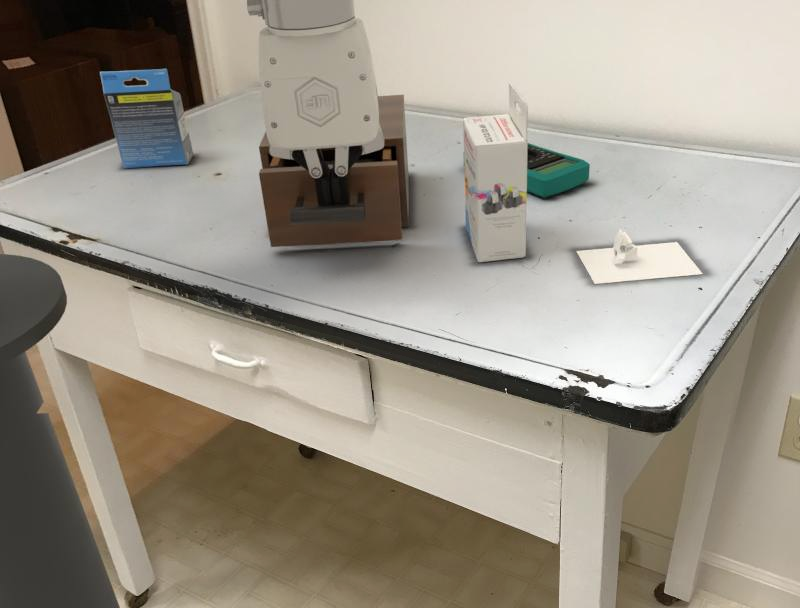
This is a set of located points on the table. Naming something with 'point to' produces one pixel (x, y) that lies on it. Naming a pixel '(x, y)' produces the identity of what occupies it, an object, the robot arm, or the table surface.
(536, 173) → the digital multimeter
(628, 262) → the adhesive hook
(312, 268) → the table surface
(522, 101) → the ink box
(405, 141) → the cabinet
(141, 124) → the label tape box
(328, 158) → the drawer
